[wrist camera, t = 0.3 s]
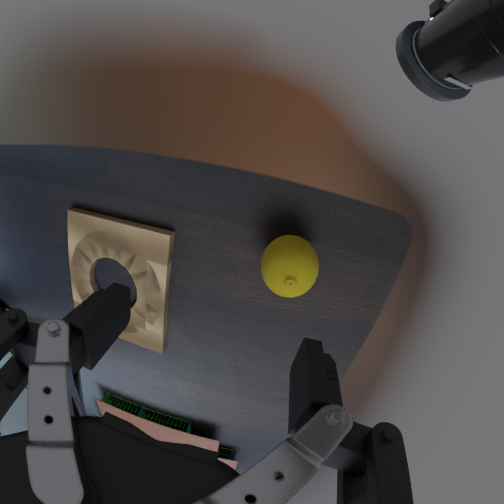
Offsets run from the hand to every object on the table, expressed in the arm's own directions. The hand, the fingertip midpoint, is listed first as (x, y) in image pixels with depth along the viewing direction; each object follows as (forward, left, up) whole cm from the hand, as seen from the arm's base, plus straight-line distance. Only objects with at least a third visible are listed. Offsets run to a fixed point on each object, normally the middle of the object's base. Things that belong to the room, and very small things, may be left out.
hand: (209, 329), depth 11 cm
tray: (+12, -17, -19) cm, 28 cm away
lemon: (+2, +4, -19) cm, 20 cm away
